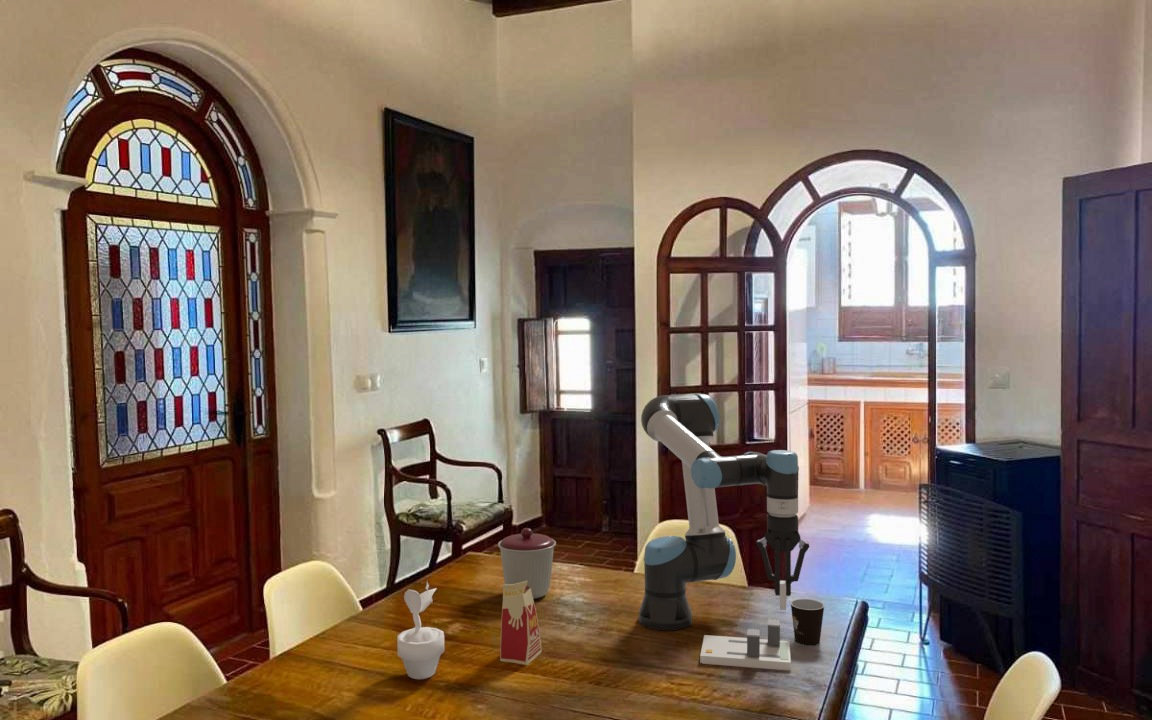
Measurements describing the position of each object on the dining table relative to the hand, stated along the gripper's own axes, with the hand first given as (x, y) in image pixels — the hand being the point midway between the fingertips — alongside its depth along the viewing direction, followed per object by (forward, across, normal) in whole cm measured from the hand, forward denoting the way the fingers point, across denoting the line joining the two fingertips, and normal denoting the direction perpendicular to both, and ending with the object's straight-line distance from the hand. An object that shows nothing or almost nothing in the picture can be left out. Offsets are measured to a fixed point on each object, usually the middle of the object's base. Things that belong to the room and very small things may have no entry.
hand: (782, 608), depth 212 cm
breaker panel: (+14, -9, +4) cm, 18 cm away
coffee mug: (+15, +6, +19) cm, 25 cm away
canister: (+14, -77, +40) cm, 88 cm away
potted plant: (+14, -86, -22) cm, 90 cm away
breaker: (+12, -2, +8) cm, 15 cm away
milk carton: (+14, -66, -7) cm, 68 cm away
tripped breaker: (+12, -7, 0) cm, 14 cm away
